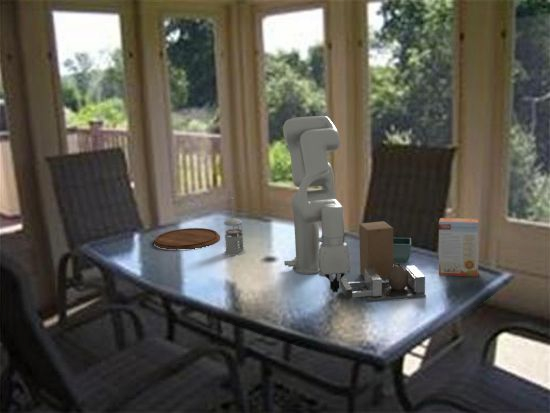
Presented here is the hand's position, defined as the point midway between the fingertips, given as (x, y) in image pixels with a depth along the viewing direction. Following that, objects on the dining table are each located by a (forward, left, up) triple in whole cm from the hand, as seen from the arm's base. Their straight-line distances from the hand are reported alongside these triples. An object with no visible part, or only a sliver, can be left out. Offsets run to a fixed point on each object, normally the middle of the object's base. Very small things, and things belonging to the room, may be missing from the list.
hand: (334, 290), depth 211 cm
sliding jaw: (+9, 0, -1) cm, 9 cm away
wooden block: (+19, +17, -3) cm, 26 cm away
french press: (-33, +62, -3) cm, 70 cm away
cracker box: (+49, +13, -3) cm, 51 cm away
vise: (+20, 0, -2) cm, 20 cm away
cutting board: (-56, +86, -3) cm, 103 cm away
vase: (+22, 0, -1) cm, 22 cm away
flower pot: (+32, +31, -3) cm, 45 cm away
